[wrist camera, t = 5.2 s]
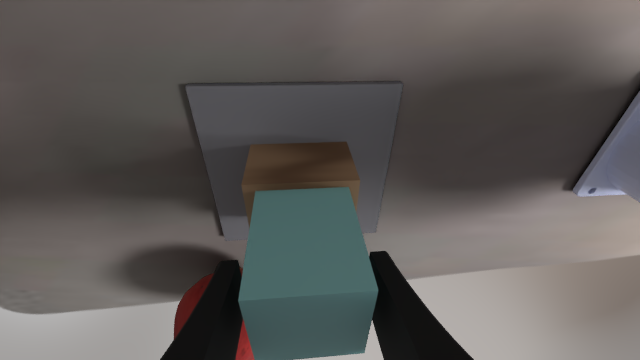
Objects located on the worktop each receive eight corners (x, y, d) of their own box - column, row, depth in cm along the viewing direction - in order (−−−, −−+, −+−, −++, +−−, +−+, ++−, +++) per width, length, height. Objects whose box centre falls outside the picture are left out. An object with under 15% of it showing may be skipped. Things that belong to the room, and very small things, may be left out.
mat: (400, 81, 14) (403, 83, 13) (374, 228, 20) (375, 232, 19) (187, 83, 13) (184, 86, 13) (226, 236, 19) (225, 240, 18)
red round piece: (280, 287, 23) (276, 412, 16) (207, 296, 22) (174, 425, 16) (267, 237, 19) (255, 370, 13) (181, 247, 19) (125, 387, 12)
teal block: (343, 248, 15) (364, 352, 11) (264, 253, 14) (255, 362, 10) (349, 186, 12) (378, 290, 8) (255, 191, 12) (238, 301, 8)
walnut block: (346, 141, 15) (360, 180, 12) (341, 212, 18) (351, 256, 15) (250, 144, 14) (241, 185, 12) (261, 216, 17) (255, 262, 15)
